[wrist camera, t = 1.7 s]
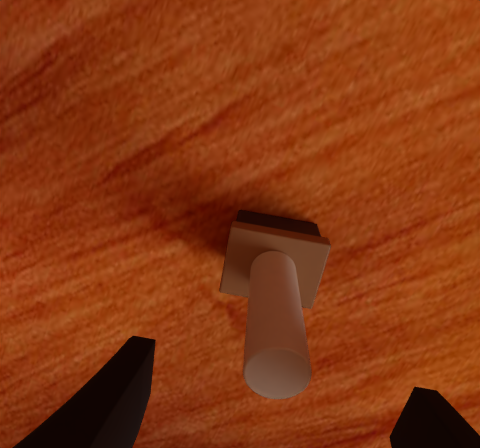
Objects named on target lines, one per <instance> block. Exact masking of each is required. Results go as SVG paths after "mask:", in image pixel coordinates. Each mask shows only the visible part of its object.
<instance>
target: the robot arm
mask: <svg viewBox="0 0 480 448" xmlns="http://www.w3.org/2000/svg"><path fill="white" fill-rule="evenodd" d="M154 351H155V340H154V339H149V338H143V337H138V336H132V337H131V338H129V339H128V340H127V342H126V343H125V344H124V345H123V346H122V347H121V348H120V349H119V350H118V352H117V353H116V354H115V355H114V356H113V357H112V358H111V359H110V360H109V361H108V362H107V363H106V364H105V365H104V366H103V367H102V368H101V369H100V370H99V371H98V372H97V373H96V374H95V375H94V376H93V377H92V378H91V379H90V380H89V381H88V382H87V383H86V384H85V385H84V386H83V387H82V388H81V389H80V390H79V391H78V392H77V393H76V394H75V395H74V396H73V397H71V398H70V399H69V400H68V401H67V402H66V403H65V404H64V405H63V406H61V407H60V408H59V409H58V410H57V411H56V412H55V413H53V414H52V415H51V416H50V417H49V418H48V419H47V420H45V421H44V422H43V423H42V424H41V425H40V426H39V427H37V428H36V429H35V430H34V431H33V432H31V433H30V434H29V435H28V436H26V437H25V438H24V439H23V440H22V441H20V442H19V443H18V444H17V445H15V446H14V447H13V448H132V447H133V444H134V442H135V440H136V437H137V435H138V432H139V429H140V426H141V423H142V419H143V416H144V413H145V410H146V406H147V403H148V400H149V397H150V393H151V382H152V372H153V361H154ZM390 441H391V447H392V448H480V436H479V434H478V433H477V432H476V431H475V430H474V429H473V428H472V427H471V426H470V425H469V424H468V423H467V422H466V421H465V419H464V418H463V417H462V416H461V415H460V414H459V413H458V412H457V411H456V410H455V409H454V408H453V407H452V406H451V405H450V404H449V403H448V401H447V400H446V399H445V398H444V397H443V396H442V395H441V394H440V393H439V392H438V391H436V390H430V389H425V388H419V387H414V389H413V391H412V393H411V395H410V397H409V399H408V401H407V403H406V405H405V407H404V409H403V411H402V413H401V415H400V417H399V419H398V421H397V423H396V425H395V427H394V429H393V431H392V433H391V435H390Z"/></svg>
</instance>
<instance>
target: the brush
mask: <svg viewBox="0 0 480 448" xmlns="http://www.w3.org/2000/svg"><path fill="white" fill-rule="evenodd" d="M330 248H331V244H330V242H329V239H328V238H324V237H321V235H320V232H319V229H318V226H317V224H314V223H309V222H303V221H298V220H292V219H287V218H281V217H276V216H270V215H265V214H260V213H254V212H249V211H243V210H239V211H238V216H237V221H232V223H231V227H230V233H229V238H228V244H227V250H226V256H225V261H224V267H223V273H222V278H221V284H220V292H221V293H227V294H232V295H238V296H243V297H248V310H247V323H246V336H245V349H244V362H243V376H244V379H245V381H246V383H247V385H248V386H249V387H250V388H251V389H252V390H253V391H254V392H255V393H257V394H259V395H261V396H263V397H267V398H271V399H285V398H290V397H293V396H295V395H297V394H299V393H300V392H302V391H303V390H304V389H305V388H306V387H307V385H308V384H309V381H310V379H311V373H312V372H311V364H310V358H309V351H308V345H307V338H306V332H305V325H304V319H303V312H302V307H304V308H309V309H312V307H313V304H314V300H315V297H316V294H317V291H318V287H319V284H320V281H321V277H322V274H323V271H324V268H325V264H326V261H327V258H328V255H329V251H330Z"/></svg>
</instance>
